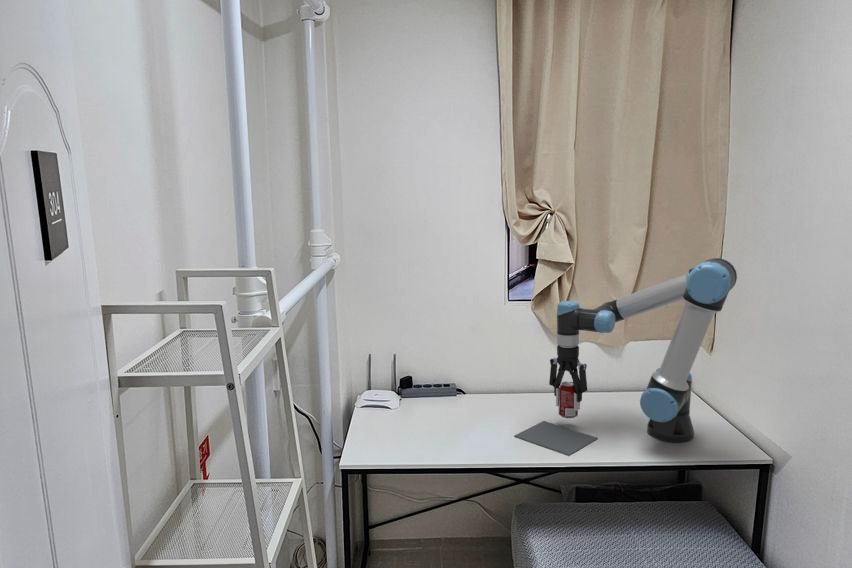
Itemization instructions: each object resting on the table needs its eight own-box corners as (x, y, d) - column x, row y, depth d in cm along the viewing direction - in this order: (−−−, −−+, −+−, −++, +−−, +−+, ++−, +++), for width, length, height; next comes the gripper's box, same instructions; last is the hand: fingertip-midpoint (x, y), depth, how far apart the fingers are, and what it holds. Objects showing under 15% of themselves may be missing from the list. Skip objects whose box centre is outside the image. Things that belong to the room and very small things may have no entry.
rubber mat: (597, 438, 215) (597, 437, 215) (569, 456, 202) (569, 454, 202) (543, 421, 230) (543, 420, 230) (514, 436, 217) (514, 435, 217)
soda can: (577, 419, 221) (579, 386, 219) (558, 418, 222) (559, 385, 221) (577, 414, 227) (578, 381, 226) (558, 412, 229) (559, 380, 227)
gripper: (598, 347, 216) (598, 410, 220) (550, 338, 230) (550, 398, 234) (587, 351, 211) (586, 417, 215) (538, 342, 225) (538, 404, 228)
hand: (567, 407), depth 224 cm, fingers closed on soda can, 7 cm apart
